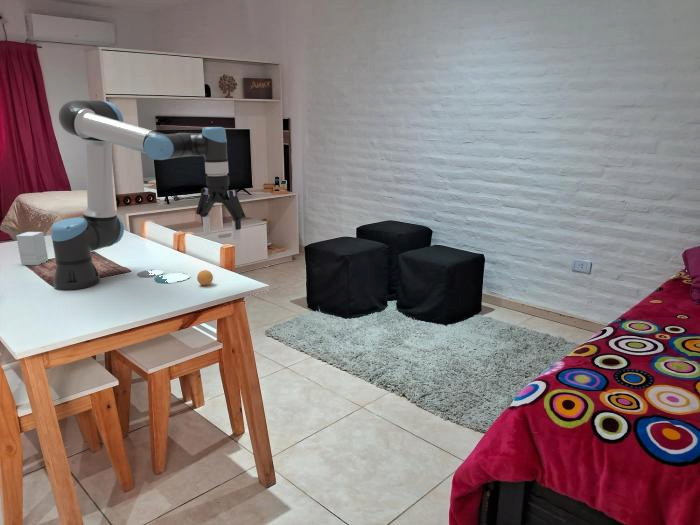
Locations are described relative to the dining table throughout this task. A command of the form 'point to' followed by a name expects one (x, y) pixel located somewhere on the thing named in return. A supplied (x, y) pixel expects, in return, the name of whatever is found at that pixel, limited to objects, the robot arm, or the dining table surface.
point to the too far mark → (145, 274)
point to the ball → (205, 277)
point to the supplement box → (32, 248)
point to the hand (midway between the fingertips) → (221, 236)
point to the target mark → (160, 279)
